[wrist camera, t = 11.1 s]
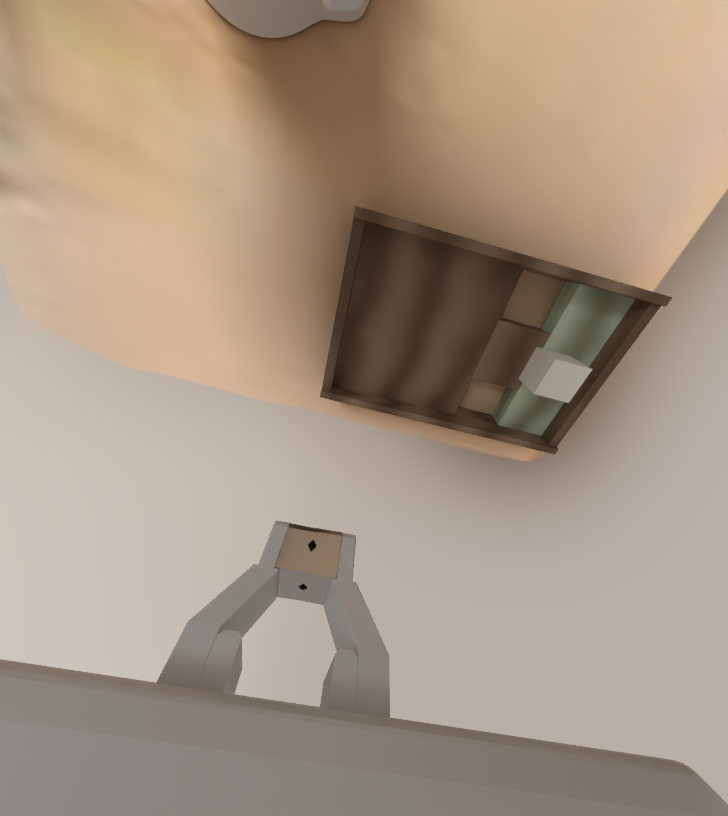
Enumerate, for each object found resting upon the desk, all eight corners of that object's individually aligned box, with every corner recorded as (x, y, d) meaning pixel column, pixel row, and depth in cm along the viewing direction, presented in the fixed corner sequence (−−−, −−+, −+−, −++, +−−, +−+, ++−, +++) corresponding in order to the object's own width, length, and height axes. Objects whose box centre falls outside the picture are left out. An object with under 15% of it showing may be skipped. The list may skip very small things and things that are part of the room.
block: (518, 378, 33) (533, 393, 30) (536, 346, 31) (555, 359, 28) (549, 387, 34) (568, 403, 30) (569, 356, 32) (592, 369, 28)
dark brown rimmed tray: (327, 379, 38) (320, 396, 33) (359, 212, 28) (355, 206, 24) (536, 431, 40) (554, 454, 35) (631, 290, 30) (672, 297, 26)
